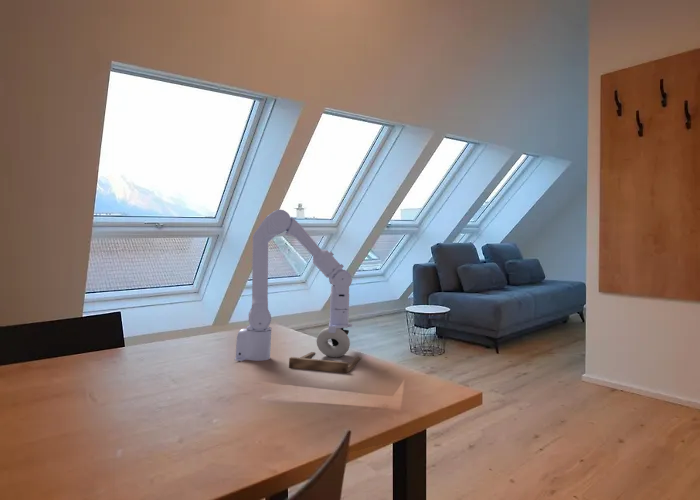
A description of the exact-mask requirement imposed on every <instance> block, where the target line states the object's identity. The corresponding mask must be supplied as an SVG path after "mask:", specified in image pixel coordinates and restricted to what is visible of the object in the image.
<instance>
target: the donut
mask: <svg viewBox="0 0 700 500" xmlns="http://www.w3.org/2000/svg"><path fill="white" fill-rule="evenodd" d="M343 330H344V329H343ZM343 330H341V329H339V328H338V329H336V333H329V326H328V327H325V328H323V329H322V330H320V332H318V335H317V336H316V346H317V348H318V350H319V351H320V352H321V353H322V355H324V356H326V357H328V358H329V357H330V358H339V357H343V356H344V355H345V354H347V352H348V351H349V350H350V345H351V340H350V337H349V336H348V335H347V334H346V333H345V332H344V331H343ZM331 339H335V340H337V341H338V343H339V344H338V345H337V346H333V344H330V343H329V340H331Z"/></svg>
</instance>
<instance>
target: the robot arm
mask: <svg viewBox="0 0 700 500" xmlns="http://www.w3.org/2000/svg"><path fill="white" fill-rule="evenodd" d="M284 232H285V235H286V236H288V237H292V238H294V239H296V240H297V241H298V242H299V244H301V246H303V248H305V250H306V251H307V252H308V253H309V254H310V255H311V256H312V263H313V265H315V267H317V269H318V270H319V271H320V272H321V273H322V274H323V275H324V277H326V278H328V281H329V284H330V285H331V286H330V288H331V289H330V299H329V303H330V304H329V323H328V327H329V333H336V329H338V328H339V329H341V330H343V331H344V332H345V333H346V334H347V336H348V334H349V331H350V330H349V329H348V328H352V327H353V323H350V322H349V316H350V315H349V313H350V312H349V311H350V286H351V285H352V283H353V279H352V276H351V273H350V272H349V271H348V270H346V269H343V268H345V267H344V264H342V263H341V264H340V262H338V260H337V259H336V258H335V257H334V253H333V251H329V250H328V249H321V248H320V247H319V245H317V243H316V242H315V240H314V239H313V238H312V236H310V235H309V234H308V232H307V231H306V230H305V229H304V228H303V226H302V225H301V224H300V223H299V222H298V221H297V220H296V219H295V218H294V217H292V216H290V214H289V212H287V211H286V210H284V209H275V210H274V211H272V212H271V213H269V214H268V215H267V216H265V218H264V219H263V220H262V222H261V223H260V225H259V226H258V228H256V230H255V232H254V233H253V236H252V264H251V265H252V267H251V268H252V269H251V270H252V272H251V273H252V278H251V279H252V280H251V283H252V285H251V295H252V296H251V308H250V310H249V312H248V322H249V325H247V326H246V328H241V329H240V330H239V331H238V332H237V334H236V344H235V345H236V349H235V358H234V361H237V362H243V361H246V360H248V361H257V362H258V361H267V360H270V359H271V350H272V349H271V347H272V327H270V324H271V322H272V314H271V313H270V312H271V311H269V301H268V300H269V299H268V297H269V288H268V286H269V284H268V283H269V280H268V279H269V242H271V241H272V240H273V239H274V238H275V237H276V236H277V235H280V234H282V233H284ZM345 328H346V329H345ZM330 341H331V345H332V346H337V345H338V344H339V343H338V341H337V340H335V339H330Z"/></svg>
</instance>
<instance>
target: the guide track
mask: <svg viewBox="0 0 700 500" xmlns="http://www.w3.org/2000/svg"><path fill="white" fill-rule="evenodd" d="M315 354H316V352H313V351H311V352H309V353H307V354H305V355H302V356H301V357H295V356H290V357H289V360H288V361H289V362H288V368H291V369H292V368H293V369H299V370H300V369H302V370H311V371H320V372H321V371H322V372H330V373H331V372H332V373H333V372H334V373H342V374H348V373H349V372H350V371H351V370H353V369H354V368H355V366H356V365H357V364H358V363H359V362H360V360H361V359H362V358H363V357H362V356H357V357H356V358H354V359H353V360H351V361H350V362H348V361H347V362H345V361H337V360H328V359H327V360H326V359H318V358H317V359H316V358H315V359H314V358H313V356H314V355H315Z"/></svg>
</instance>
